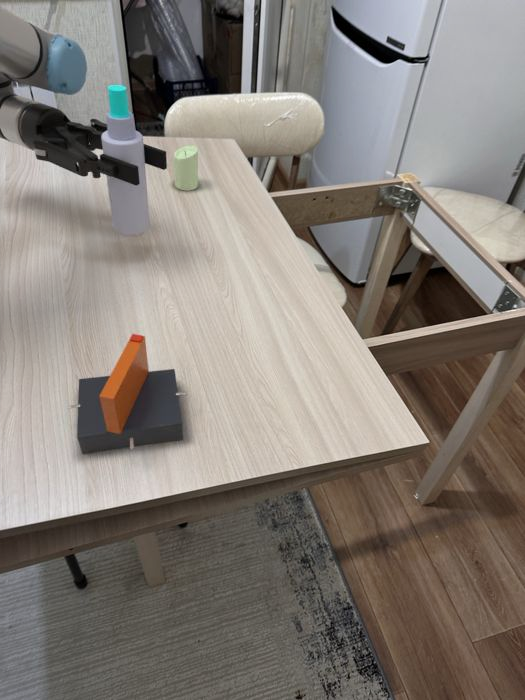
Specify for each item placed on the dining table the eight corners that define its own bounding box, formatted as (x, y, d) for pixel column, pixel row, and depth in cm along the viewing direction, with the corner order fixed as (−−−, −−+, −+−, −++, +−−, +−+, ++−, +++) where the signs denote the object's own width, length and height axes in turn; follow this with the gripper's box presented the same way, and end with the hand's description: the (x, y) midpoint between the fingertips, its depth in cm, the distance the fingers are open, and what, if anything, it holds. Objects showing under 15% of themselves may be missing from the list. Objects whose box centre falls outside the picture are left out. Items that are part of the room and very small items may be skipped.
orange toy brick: (120, 434, 56) (113, 397, 51) (107, 431, 56) (98, 394, 51) (148, 372, 63) (144, 334, 58) (136, 369, 63) (132, 332, 58)
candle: (178, 191, 105) (177, 154, 99) (172, 181, 108) (171, 144, 102) (200, 189, 106) (200, 152, 101) (194, 179, 109) (194, 142, 104)
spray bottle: (110, 219, 84) (91, 81, 69) (145, 216, 86) (134, 80, 70) (116, 238, 80) (97, 96, 65) (153, 234, 82) (143, 95, 67)
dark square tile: (71, 474, 56) (65, 457, 53) (75, 382, 65) (70, 363, 63) (194, 456, 59) (194, 439, 56) (181, 371, 69) (180, 353, 66)
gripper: (82, 133, 88) (188, 170, 82) (-5, 169, 76) (112, 216, 70) (75, 88, 83) (187, 124, 77) (-20, 119, 71) (105, 165, 64)
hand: (151, 168), depth 73 cm, fingers closed on spray bottle, 6 cm apart
